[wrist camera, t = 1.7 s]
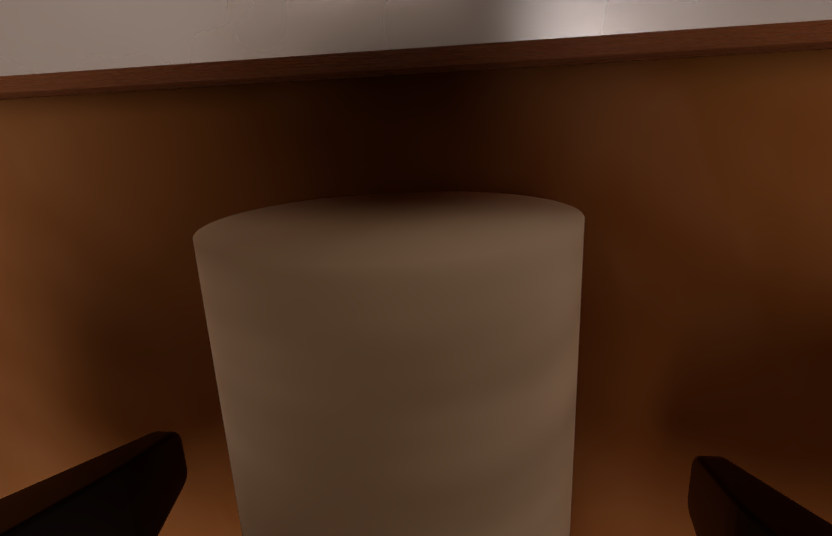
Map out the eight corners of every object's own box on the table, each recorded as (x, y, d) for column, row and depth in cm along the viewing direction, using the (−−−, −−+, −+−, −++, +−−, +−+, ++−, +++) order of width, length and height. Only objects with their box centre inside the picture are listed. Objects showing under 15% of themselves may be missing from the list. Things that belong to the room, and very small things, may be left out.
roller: (559, 187, 9) (631, 265, 4) (545, 592, 11) (582, 933, 7) (288, 195, 10) (86, 265, 5) (331, 571, 12) (224, 862, 7)
